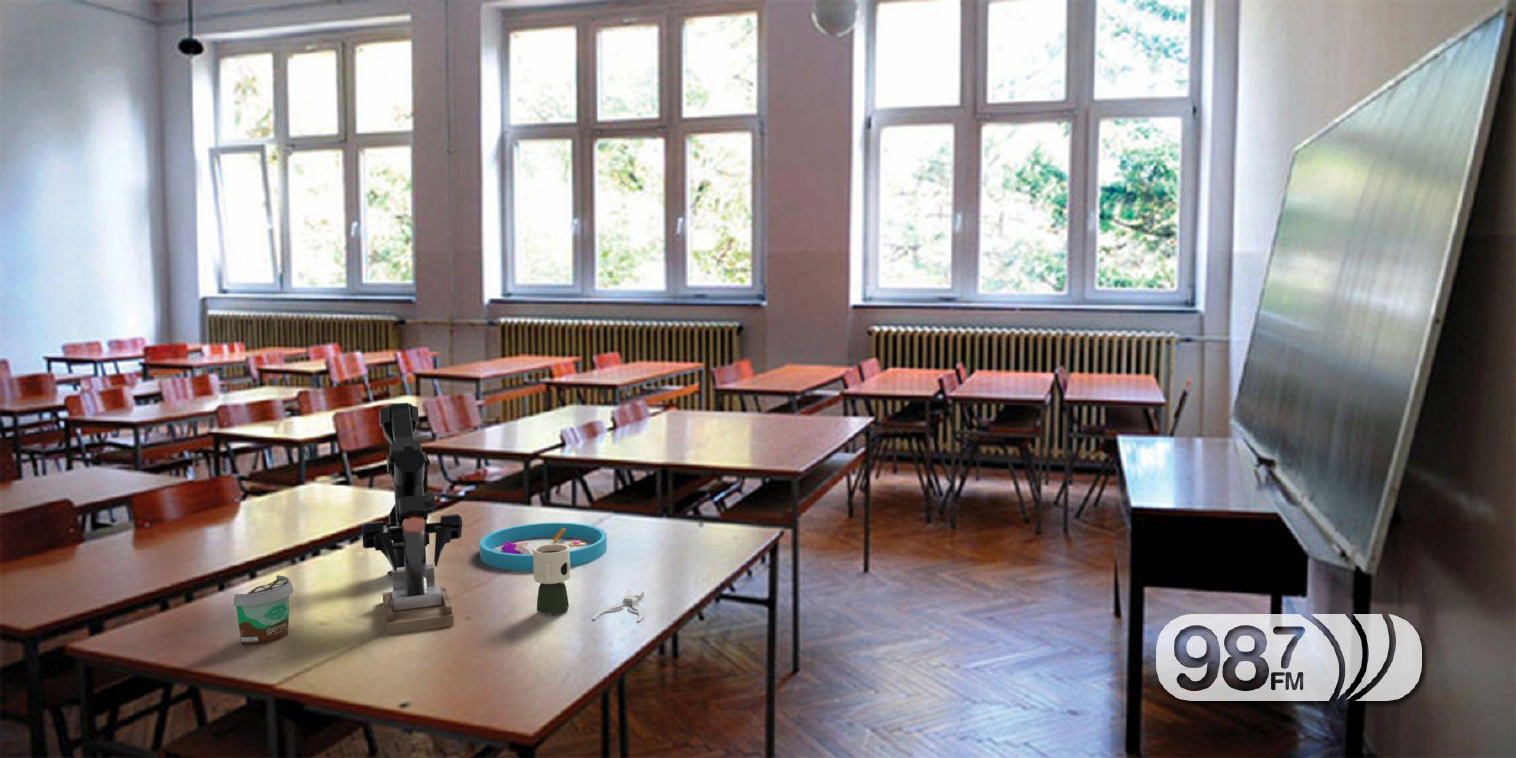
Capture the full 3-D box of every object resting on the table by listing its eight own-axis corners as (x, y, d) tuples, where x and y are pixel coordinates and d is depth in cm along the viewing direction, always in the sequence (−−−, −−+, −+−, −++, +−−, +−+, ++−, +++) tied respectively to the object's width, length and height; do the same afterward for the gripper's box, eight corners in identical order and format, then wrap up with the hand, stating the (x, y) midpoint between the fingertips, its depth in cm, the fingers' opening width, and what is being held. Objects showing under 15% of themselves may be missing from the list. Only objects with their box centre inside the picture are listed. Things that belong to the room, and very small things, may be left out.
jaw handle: (392, 602, 195) (388, 513, 193) (439, 596, 199) (436, 509, 197) (393, 611, 190) (389, 519, 188) (442, 604, 194) (438, 514, 192)
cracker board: (383, 602, 203) (381, 568, 202) (443, 594, 207) (442, 562, 206) (387, 634, 184) (385, 598, 183) (453, 625, 189) (452, 590, 188)
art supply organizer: (453, 564, 230) (452, 540, 229) (527, 532, 258) (526, 510, 257) (564, 578, 219) (563, 552, 218) (628, 543, 247) (628, 520, 246)
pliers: (591, 614, 191) (613, 589, 206) (591, 621, 191) (613, 596, 206) (640, 616, 190) (659, 591, 205) (640, 624, 190) (659, 598, 205)
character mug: (566, 621, 191) (564, 556, 189) (529, 621, 191) (527, 556, 189) (575, 602, 202) (573, 540, 200) (540, 603, 201) (538, 541, 200)
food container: (265, 651, 177) (262, 596, 176) (235, 648, 178) (232, 594, 177) (309, 626, 189) (307, 576, 188) (281, 624, 190) (278, 574, 189)
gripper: (359, 482, 191) (363, 552, 182) (459, 474, 199) (467, 541, 190) (361, 513, 199) (364, 581, 191) (456, 504, 207) (464, 570, 198)
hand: (416, 568), depth 192 cm, fingers open, 7 cm apart
